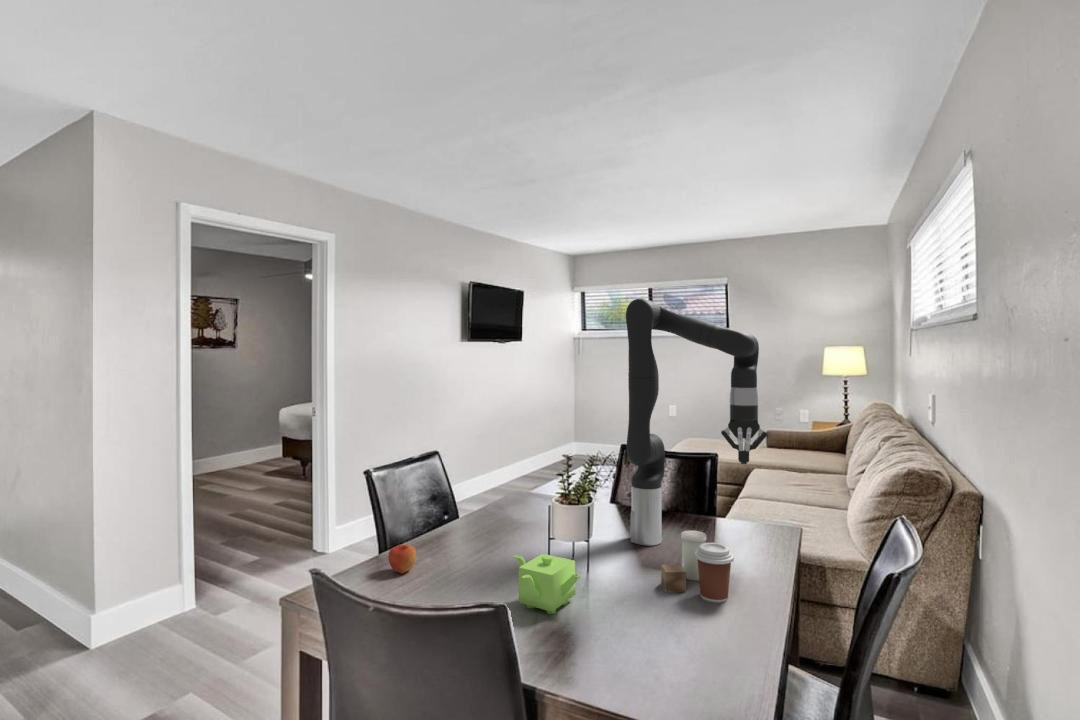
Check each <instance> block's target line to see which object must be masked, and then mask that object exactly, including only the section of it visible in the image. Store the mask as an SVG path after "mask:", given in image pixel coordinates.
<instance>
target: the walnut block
mask: <svg viewBox="0 0 1080 720" xmlns="http://www.w3.org/2000/svg"><path fill="white" fill-rule="evenodd" d="M660 566H661V567H660V571H661V572H660V578H661V579H660V583H661V586H662V588H663V590H664V592H665V593H686V592H687V579H686V571H685V570H684V568H683V567H682V563H681V564H676V563H675V564H660Z"/></svg>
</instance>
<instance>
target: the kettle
mask: <svg viewBox="0 0 1080 720" xmlns="http://www.w3.org/2000/svg"><path fill="white" fill-rule="evenodd" d="M513 557H514V558H515V559H516V560H517V562H518V563H519V567H518V604H521V605H526V608H527V609H535V608H537V609H540V610H544V611H546V614H548V615H555V614H556V613H557V609H559V608H560V607H561V606H566V605H568V604H569V601H570V599H572V598H573V597H575V595H576V583H577V581H578V580H579V578H580V577H581V575H580V574H578V573H576V561H575V560H572V559H568V558H565V557H559V556H555V555H550V554H545V553H541V554H540V555H538V556H536V557H534V558H533V559H531V560H529V561H528V562H526V560H525V558H523V556H521V555H519V554H514V555H513Z"/></svg>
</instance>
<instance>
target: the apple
mask: <svg viewBox="0 0 1080 720" xmlns="http://www.w3.org/2000/svg"><path fill="white" fill-rule="evenodd" d="M416 560H417V550H416V548H415V547H414V546H412V545H411V544H400V543H398V544H397V546H394V547H392V548H390V549H389V551H388V563H389V565H390V567H391V569H392V570H393V571H395V572H396V573H399V574H400V575H401V574H405V573H407V572H408V571H411V569H412V568H413V567H414V565H415V564H416Z"/></svg>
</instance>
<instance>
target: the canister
mask: <svg viewBox="0 0 1080 720" xmlns="http://www.w3.org/2000/svg"><path fill="white" fill-rule="evenodd" d="M680 537H681V565H682V567H683V568H684V570H685V571H686V580H689V581H699V573H698V561H697V559H696V557H695V556H694V553H695V551H696V550H698V549H699V546H700V545H701V544H703V543H707V542H706V540H707V534H706V533H705V532H702V531H700V530H684V531H682V532H681V533H680Z"/></svg>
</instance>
